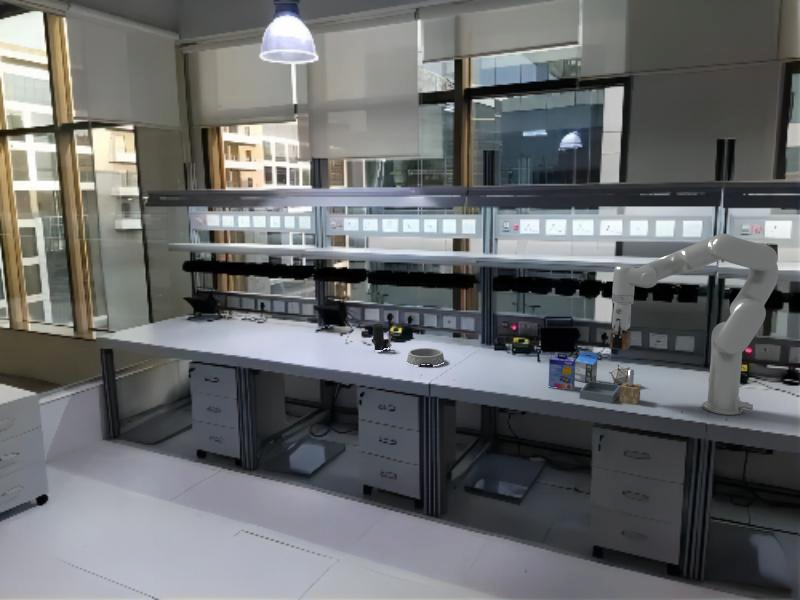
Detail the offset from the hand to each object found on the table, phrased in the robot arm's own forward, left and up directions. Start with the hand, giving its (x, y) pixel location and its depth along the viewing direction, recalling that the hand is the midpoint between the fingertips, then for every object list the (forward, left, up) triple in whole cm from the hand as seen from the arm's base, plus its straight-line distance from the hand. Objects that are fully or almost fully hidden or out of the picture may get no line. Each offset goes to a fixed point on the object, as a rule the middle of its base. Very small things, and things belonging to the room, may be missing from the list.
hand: (618, 345), depth 218 cm
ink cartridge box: (+22, -3, -21) cm, 30 cm away
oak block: (-5, +1, -20) cm, 21 cm away
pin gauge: (-5, +1, -20) cm, 21 cm away
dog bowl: (+89, -10, -21) cm, 92 cm away
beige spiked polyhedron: (+2, -18, -21) cm, 28 cm away
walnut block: (0, 0, -1) cm, 1 cm away
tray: (+6, 0, -20) cm, 21 cm away
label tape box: (+16, -16, -21) cm, 31 cm away
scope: (+120, -17, -21) cm, 123 cm away
